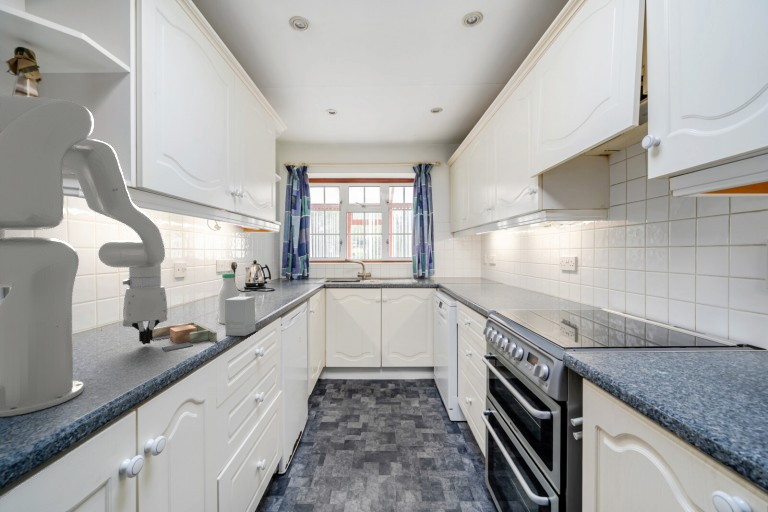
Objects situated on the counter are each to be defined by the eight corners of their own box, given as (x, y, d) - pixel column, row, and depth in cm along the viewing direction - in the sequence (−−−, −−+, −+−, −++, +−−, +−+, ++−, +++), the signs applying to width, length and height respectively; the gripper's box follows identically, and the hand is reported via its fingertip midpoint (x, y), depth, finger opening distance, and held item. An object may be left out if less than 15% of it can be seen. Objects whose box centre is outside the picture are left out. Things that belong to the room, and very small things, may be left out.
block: (175, 344, 95) (175, 331, 95) (170, 340, 99) (169, 328, 99) (196, 339, 99) (196, 327, 99) (190, 336, 103) (190, 324, 103)
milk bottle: (240, 322, 122) (239, 273, 122) (218, 325, 118) (218, 274, 118) (238, 319, 129) (238, 272, 129) (217, 321, 125) (217, 273, 125)
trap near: (165, 351, 87) (165, 350, 87) (161, 348, 90) (161, 347, 90) (193, 346, 92) (193, 345, 92) (188, 343, 95) (188, 342, 95)
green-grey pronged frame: (157, 353, 85) (157, 343, 85) (141, 339, 99) (141, 330, 99) (216, 341, 97) (216, 332, 97) (194, 330, 111) (194, 321, 111)
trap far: (153, 341, 97) (153, 340, 97) (149, 338, 100) (149, 337, 100) (178, 336, 102) (178, 335, 102) (174, 334, 105) (174, 333, 105)
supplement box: (256, 330, 110) (256, 296, 110) (244, 336, 103) (244, 299, 103) (237, 330, 111) (236, 296, 111) (224, 335, 103) (224, 299, 103)
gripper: (114, 285, 83) (114, 351, 83) (177, 281, 94) (178, 340, 94) (110, 283, 88) (111, 346, 88) (171, 280, 99) (171, 335, 99)
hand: (145, 342), depth 91 cm, fingers closed
